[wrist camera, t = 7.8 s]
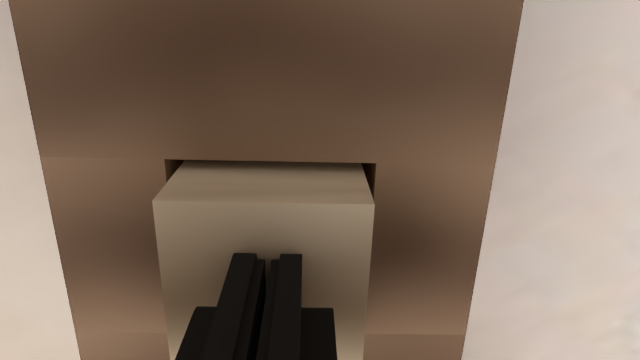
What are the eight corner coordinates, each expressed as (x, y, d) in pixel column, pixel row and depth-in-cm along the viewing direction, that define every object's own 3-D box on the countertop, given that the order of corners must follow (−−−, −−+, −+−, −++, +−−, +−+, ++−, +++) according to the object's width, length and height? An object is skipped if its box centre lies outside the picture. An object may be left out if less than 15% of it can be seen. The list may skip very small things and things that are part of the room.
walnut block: (88, -399, 14) (-168, -870, 6) (477, -377, 14) (662, -795, 7) (163, 276, 22) (91, 410, 15) (405, 278, 23) (452, 411, 15)
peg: (218, 118, 18) (152, 201, 10) (347, 120, 18) (374, 204, 10) (224, 233, 19) (171, 375, 12) (341, 234, 20) (361, 376, 12)
